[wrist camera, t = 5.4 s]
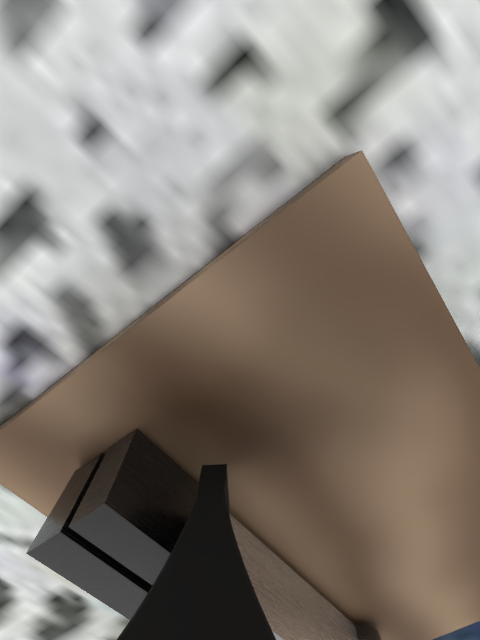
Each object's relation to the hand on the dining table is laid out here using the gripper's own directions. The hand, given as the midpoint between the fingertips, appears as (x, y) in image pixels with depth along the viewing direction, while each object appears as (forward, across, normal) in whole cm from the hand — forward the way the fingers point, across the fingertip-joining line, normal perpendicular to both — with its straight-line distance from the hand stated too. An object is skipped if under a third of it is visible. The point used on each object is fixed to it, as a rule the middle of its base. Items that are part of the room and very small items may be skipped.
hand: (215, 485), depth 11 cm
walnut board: (+3, -4, +4) cm, 7 cm away
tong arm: (+1, -2, +6) cm, 7 cm away
